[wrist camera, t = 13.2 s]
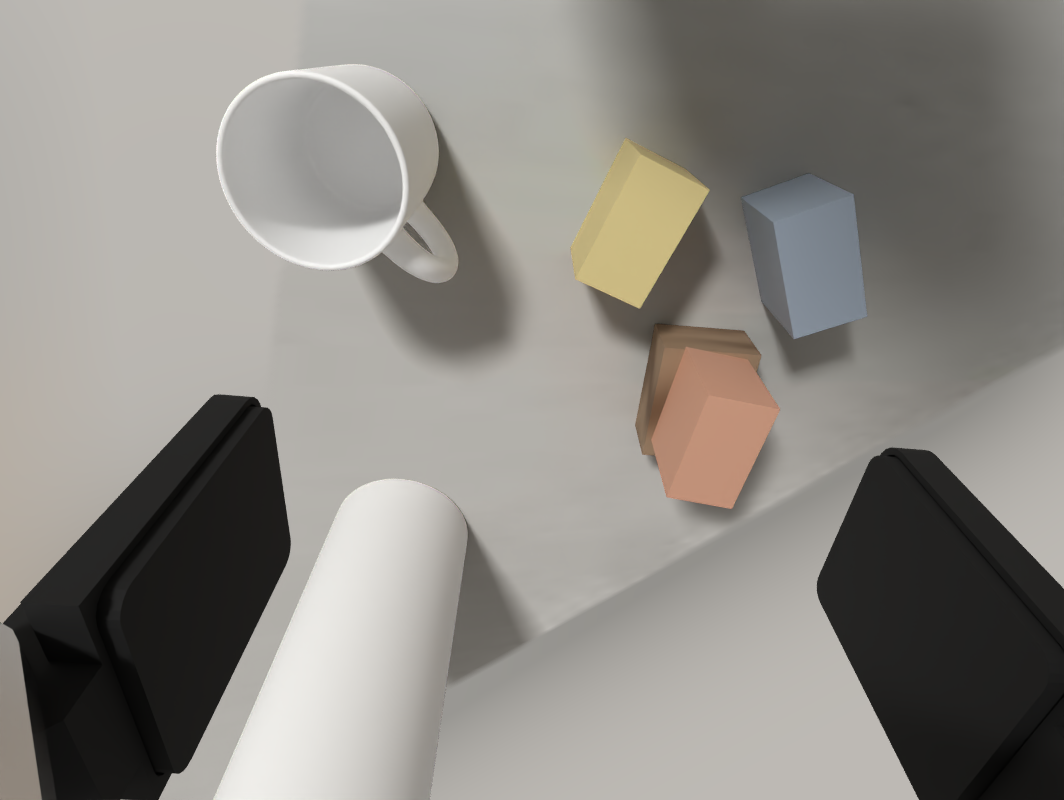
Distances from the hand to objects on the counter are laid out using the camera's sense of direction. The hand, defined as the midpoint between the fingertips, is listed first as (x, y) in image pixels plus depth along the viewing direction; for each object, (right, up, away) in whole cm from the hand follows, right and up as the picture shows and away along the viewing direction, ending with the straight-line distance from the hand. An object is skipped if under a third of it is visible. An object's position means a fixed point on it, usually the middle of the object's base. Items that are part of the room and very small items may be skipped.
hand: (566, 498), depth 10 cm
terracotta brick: (+10, +1, +30) cm, 31 cm away
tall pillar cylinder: (-11, -9, +41) cm, 43 cm away
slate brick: (+15, +11, +28) cm, 34 cm away
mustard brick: (+5, +13, +28) cm, 31 cm away
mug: (-9, +15, +27) cm, 32 cm away
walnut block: (+10, +3, +33) cm, 35 cm away
